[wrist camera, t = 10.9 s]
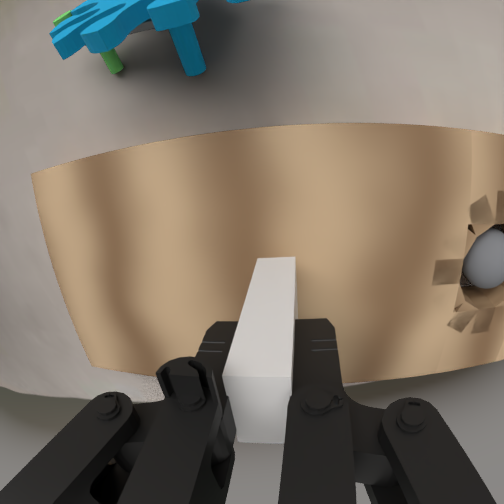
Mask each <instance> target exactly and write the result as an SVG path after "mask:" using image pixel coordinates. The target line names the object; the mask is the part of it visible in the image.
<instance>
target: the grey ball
mask: <svg viewBox="0 0 504 504" xmlns="http://www.w3.org/2000/svg"><path fill="white" fill-rule="evenodd" d="M462 271H463V274H464V275H465V277H466V278H467V280H468V281H469V282H470V283H472V284H473V285H475V286H477V287H479V288H484V289H490V288H494V287H496V286H498V285H500V284H501V283H502V282H504V233H502V232H501V231H500V230H498V229H496V228H494V227H490V228H489V229H488V230H486V231H485V232H483V233H482V234H481V235H479V236H478V237H477V238H476V240H475V241H474V243H473V245H472V246H471V248H470V250H469V251H468V253H467V255H466V256H465V258H464V260H463V266H462Z"/></svg>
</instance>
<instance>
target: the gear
mask: <svg viewBox="0 0 504 504" xmlns="http://www.w3.org/2000/svg"><path fill="white" fill-rule="evenodd" d="M198 1H199V0H87V1H85V2H84V3H82V4H81V5H79V6H78V7H76V8H75V9H73V10H72V11H71V10H70V11H68V12H66V13H64V14H62V15H61V16H59V17H58V18H57V19H55V20H54V21H53V23H54V25H55V28H54V29H53V30H52V31H51V32H50V33H49V34H50V35H51V37H52V39H53V40H52V43H53V44H54V46H55V48H56V49H57V51H58V52H59V54H60V56H61V57H62V59H63V60H64V59H66V58H68V57H70V56H71V55H73V54H74V53H76V52H77V51H78V50H80V49H81V48H82V47H83V46H84V45H85V46H87V48H88V49H89V51H90V52H91V53H100V54H101V56H102V58H103V59H104V61H105V63H106V65H107V66H108V68H109V70H110V72H111V73H112V74H115V73H118V72H119V71H121V70H122V69H123V65H122V63H121V61H120V59H119V57H118V55H117V53H116V51H115V49H114V48H115V47H116V46H118V45H119V44H120V43H121V42H122V41H123V40H124V39H125V38H126V37H127V35H129V34H133V33H137V32H141V31H145V30H150V29H155V30H156V31H162V30H167V29H169V32H170V34H171V37H172V40H173V42H174V45H175V47H176V50H177V53H178V55H179V58H180V60H181V63H182V66H183V68H184V71H185V73H186V75H187V76H196V75H199V74H201V73H203V72H204V71H205V70H206V65H205V62H204V59H203V56H202V53H201V50H200V47H199V43H198V40H197V37H196V34H195V31H194V28H193V25H192V23H193V22H195V21H196V20H197V19H198V18H199V16H200V15H199V12H198V9H197V5H196V3H197V2H198ZM226 1H227V2H229V3H240V2H245V1H249V0H226Z"/></svg>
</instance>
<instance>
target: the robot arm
mask: <svg viewBox="0 0 504 504" xmlns="http://www.w3.org/2000/svg"><path fill="white" fill-rule="evenodd" d="M156 376H157V379H158V381H159V384H160V386H161V389H162V391H163V394H164V396H165V399H164V400H162V401H157V402H151V403H141V404H132V401H131V399H130V398H129V397H128V396H127V395H125V394H124V393H120V392H106V393H103V394H101V395H98V396H97V397H95V398H94V399H93V400H91V401H90V402H89V403H88V404H87V405H86V406H85V407H84V408H83V409H82V410H81V411H80V412H79V413H78V414H77V415H76V416H75V417H74V418H73V419H72V420H71V421H70V422H69V423H68V424H67V425H66V426H65V427H64V428H63V429H62V430H61V431H60V432H59V433H58V434H57V435H56V436H55V437H54V438H53V439H52V440H51V441H50V442H49V443H48V444H47V445H46V446H45V447H44V448H43V449H42V450H41V451H40V452H39V453H38V454H37V455H36V456H35V457H34V458H33V459H32V460H31V461H30V462H29V463H28V464H27V465H26V466H25V467H24V468H23V469H22V470H21V471H20V472H19V473H18V474H17V475H16V476H15V477H14V478H13V479H12V480H11V481H10V482H9V483H8V484H7V485H6V486H5V487H4V488H3V489H2V490H1V491H0V504H225V501H226V497H227V493H228V488H229V484H230V479H231V475H232V470H233V465H234V461H235V452H234V448H233V444H234V439H235V434H236V435H237V439H238V442H247V443H268V444H284V453H283V464H282V473H281V482H280V491H279V500H278V504H356V486H355V482H358V483H364V486H365V488H366V491H367V494H368V496H369V499H370V501H371V504H496V502H495V500H494V499H493V497H492V495H491V494H490V492H489V490H488V488H487V487H486V485H485V483H484V482H483V481H482V479H481V477H480V475H479V474H478V472H477V470H476V469H475V467H474V466H473V464H472V463H471V461H470V459H469V458H468V456H467V455H466V453H465V451H464V450H463V448H462V447H461V446H460V444H459V442H458V441H457V439H456V437H455V436H454V435H453V433H452V432H451V430H450V429H449V427H448V425H447V424H446V423H445V421H444V420H443V418H442V417H441V415H440V414H439V412H438V411H437V409H436V408H435V407H434V406H432V404H430V403H429V402H427V401H424V400H422V399H419V398H411V397H409V398H404V399H399V400H397V401H395V402H393V403H391V404H390V405H389V406H388V407H387V409H379V408H373V407H368V406H364V405H361V404H358V403H357V402H355V401H353V400H352V399H351V398H350V397H348V395H347V394H346V393H345V391H344V388H343V385H342V377H341V369H340V361H339V354H338V346H337V341H336V332H335V327H334V326H333V325H332V324H331V322H330V321H329V320H328V319H327V318H317V319H298V303H297V278H296V258H295V257H276V258H258V259H257V262H256V265H255V269H254V272H253V275H252V279H251V282H250V285H249V289H248V292H247V295H246V299H245V302H244V305H243V308H242V312H241V315H240V318H239V321H216V322H215V323H214V324H213V325H212V326H211V327H210V328H209V329H207V330H206V333H205V335H204V337H203V340H202V343H201V344H200V347H199V349H198V352H197V354H196V356H195V357H192V356H189V357H179V358H176V359H173V360H170V361H168V362H166V363H165V364H163V365H162V366H161V367H160V368H159V369H158V370H157V371H156Z"/></svg>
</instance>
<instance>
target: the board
mask: <svg viewBox="0 0 504 504" xmlns="http://www.w3.org/2000/svg"><path fill="white" fill-rule="evenodd" d="M31 177H32V183H33V188H34V194H35V199H36V203H37V208H38V213H39V217H40V221H41V225H42V229H43V233H44V237H45V241H46V245H47V248H48V252H49V255H50V259H51V262H52V265H53V269H54V272H55V275H56V278H57V281H58V284H59V287H60V290H61V293H62V295H63V298H64V301H65V304H66V306H67V309H68V312H69V314H70V317H71V319H72V322H73V324H74V327H75V329H76V332H77V334H78V336H79V339H80V341H81V343H82V346H83V348H84V350H85V352H86V355H87V357H88V359H89V361H90V363H91V365H92V366H94V367H99V368H104V369H110V370H115V371H121V372H128V373H134V374H141V375H148V376H156V371H157V370H158V369H159V368H160V367H161V366H162V365H163V364H165V363H166V362H168V361H170V360H173V359H176V358H179V357H189V356H192V357H195V356H196V354H197V352H198V349H199V347H200V344H201V343H202V340H203V337H204V335H205V333H206V330H207V329H209V328H210V327H211V326H212V325H213V324H214V323H215V322H216V321H239V318H240V315H241V312H242V308H243V305H244V302H245V299H246V295H247V292H248V289H249V285H250V282H251V279H252V275H253V272H254V269H255V265H256V262H257V259H258V258H276V257H295V258H296V278H297V303H298V319H317V318H327V319H328V320H329V321H330V322H331V324H332V325H333V326H334V327H335V332H336V341H337V346H338V354H339V361H340V369H341V377H342V383H353V382H367V381H378V380H388V379H397V378H406V377H413V376H420V375H428V374H434V373H440V372H446V371H452V370H457V369H462V368H468V367H472V366H477V365H482V364H486V363H490V362H494V361H499V360H503V359H504V282H502V283H501V284H500V285H498V286H496V287H494V288H490V289H484V288H479V287H477V286H468V287H461V286H460V278H461V272H462V266H463V260H464V258H465V256H466V255H467V253H468V251H469V250H470V248H471V246H472V245H473V243H474V241H475V240H476V238H477V237H478V236H479V235H481V234H482V233H483V232H485V231H486V230H488V229H489V228H490V227H492V226H493V225H494V224H501V226H502V229H503V233H504V135H502V134H496V133H489V132H482V131H475V130H467V129H458V128H448V127H437V126H425V125H408V124H384V123H327V124H302V125H285V126H271V127H260V128H249V129H239V130H231V131H222V132H215V133H207V134H200V135H193V136H187V137H181V138H175V139H169V140H163V141H158V142H153V143H147V144H142V145H138V146H133V147H128V148H124V149H119V150H115V151H110V152H106V153H102V154H98V155H94V156H90V157H86V158H82V159H79V160H75V161H71V162H68V163H64V164H61V165H58V166H54V167H51V168H48V169H44V170H41V171H38V172H35V173H32V174H31ZM156 377H157V376H156Z"/></svg>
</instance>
